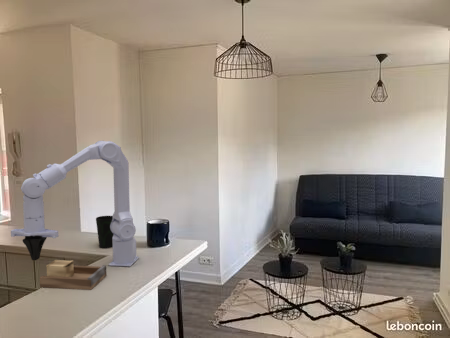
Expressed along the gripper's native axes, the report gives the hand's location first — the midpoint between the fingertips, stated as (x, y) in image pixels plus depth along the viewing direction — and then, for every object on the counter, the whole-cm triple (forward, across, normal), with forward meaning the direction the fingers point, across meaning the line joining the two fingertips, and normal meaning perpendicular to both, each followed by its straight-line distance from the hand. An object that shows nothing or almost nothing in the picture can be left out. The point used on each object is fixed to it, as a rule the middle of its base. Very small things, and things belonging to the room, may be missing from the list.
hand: (35, 259), depth 117 cm
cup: (+7, +8, +36) cm, 37 cm away
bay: (+7, +13, 0) cm, 14 cm away
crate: (+5, +8, 0) cm, 10 cm away
